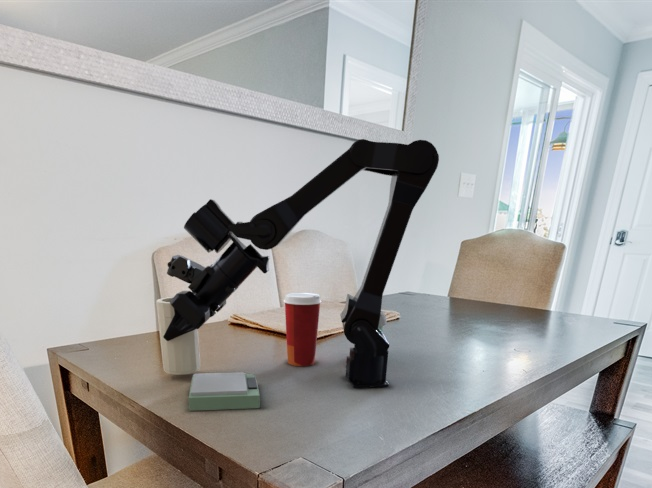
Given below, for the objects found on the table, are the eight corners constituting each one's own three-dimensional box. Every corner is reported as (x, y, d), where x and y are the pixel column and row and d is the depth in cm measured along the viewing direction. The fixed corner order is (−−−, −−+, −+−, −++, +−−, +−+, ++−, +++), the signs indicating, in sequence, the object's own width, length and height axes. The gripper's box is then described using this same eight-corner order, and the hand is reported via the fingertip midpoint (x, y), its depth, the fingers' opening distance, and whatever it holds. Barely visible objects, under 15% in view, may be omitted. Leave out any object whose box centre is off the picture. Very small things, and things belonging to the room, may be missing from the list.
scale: (255, 385, 83) (254, 370, 82) (259, 408, 73) (259, 391, 72) (193, 387, 82) (192, 372, 81) (189, 410, 72) (188, 394, 70)
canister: (201, 363, 90) (196, 296, 86) (199, 374, 84) (194, 302, 79) (166, 364, 90) (159, 297, 85) (161, 375, 83) (153, 303, 79)
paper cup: (325, 361, 98) (328, 294, 93) (308, 370, 92) (310, 298, 87) (294, 355, 102) (295, 290, 97) (275, 363, 96) (275, 295, 90)
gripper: (206, 236, 87) (155, 295, 92) (177, 240, 70) (116, 312, 74) (249, 279, 89) (196, 334, 94) (231, 293, 72) (168, 360, 77)
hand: (171, 334), depth 85 cm, fingers closed on canister, 7 cm apart
